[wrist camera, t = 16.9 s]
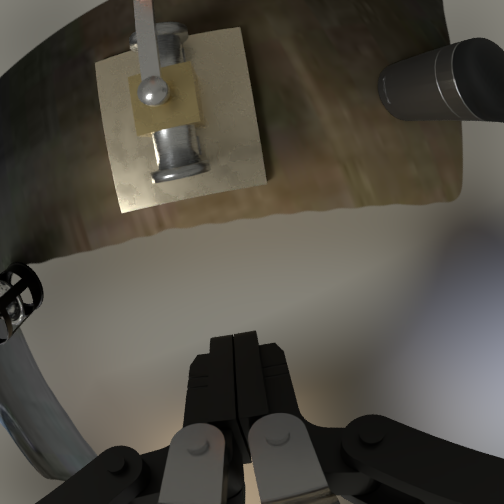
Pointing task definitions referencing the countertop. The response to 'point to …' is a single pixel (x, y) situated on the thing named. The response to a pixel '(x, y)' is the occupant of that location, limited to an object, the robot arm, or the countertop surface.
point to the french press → (18, 296)
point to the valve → (181, 120)
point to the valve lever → (149, 56)
